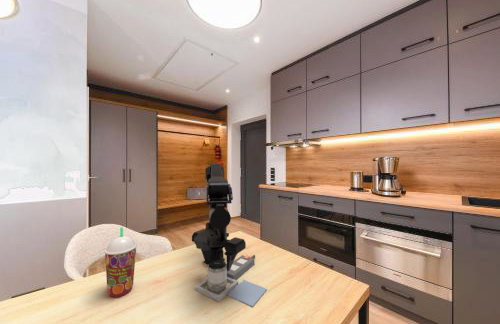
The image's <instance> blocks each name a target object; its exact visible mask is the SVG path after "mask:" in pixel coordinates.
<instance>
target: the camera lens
mask: <svg viewBox="0 0 500 324" xmlns="http://www.w3.org/2000/svg"><path fill="white" fill-rule="evenodd" d="M207 278H208V281H207V288H208V289H207V290H208V291H210V292H212V293H215V294H216V293H217V294H218V293H222V292H223V291H224V290H225V289H226V287H227V283H228V282H227V262H226V261H221V260H216V261H212V262H211V263H209V264H207Z"/></svg>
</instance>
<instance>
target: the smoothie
mask: <svg viewBox="0 0 500 324" xmlns="http://www.w3.org/2000/svg"><path fill="white" fill-rule="evenodd" d="M119 233H120V234H119V235H118V236H117V237H114V238H113V239H112V240H111V241H110V242H109V243H108V245H107V247H106V249H105V250H104V253H105V254H104V257H105V258H104V259H105V273H106V289H107V290H106V292H107V293H108V295H109V296H110V297H112V298H119V297H122V296H124V295H126V294H128V293H129V292H130V291H131V290H132V287H133V285H134V279H135V266H136V265H135V264H136V255H137V253H136V252H137V246H138V245H137V243H136V242H135V240H134V239H133V238H132V237H131V236H128V235H124V227H122V226H121V227H120V232H119Z"/></svg>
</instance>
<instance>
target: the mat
mask: <svg viewBox="0 0 500 324" xmlns="http://www.w3.org/2000/svg"><path fill="white" fill-rule="evenodd" d="M267 291H268V288H267V287H263V286H261V285H258V284H255V283H253V282H250V281H248V280H245V279H243V280H241V282H240V283H238V285H237V286H236V287H235V288H234V289H233V290H231V291H230V292H229V293H228V294H227V297H229V298H232V299H233V300H236V301H238V302H240V303H242V304H244V305H246V306H249V307H251V308H254V307H255V305H256V304H257V303H258V302H259V301H260V299H261V298H262V297H263V296H264V295H265V293H266V292H267Z"/></svg>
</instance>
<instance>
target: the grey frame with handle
mask: <svg viewBox="0 0 500 324" xmlns="http://www.w3.org/2000/svg"><path fill="white" fill-rule="evenodd" d="M255 258H256V255H255V254H253V255H248V254H246V255H243V254H241V255H240V256H239V257H237V258H235V259H234V262H233V264H232V266H231V269H230V270H229V271H227V283H230V285H228V287H227V288H225V289H224V290H223V291H221V292H220V293H219V294H218V293H217V294H216V293H214V292H211V291H210V290H209V289H206V288H204V287H205V286H206V285H208V283H207V281H208V277H207V278H205V279H204V280H202V281H201V282H199V283H198V284H197V285H195V286H194V291H196V292H198V293H200V294H202V295H204V296H205V297H208V298H210V299H212V300H214V301H216V302H217V303H219V302H221V300H223V299H224V298H225V297H226V296H228V294H229V293H230V292H231V291H232V290H233V289H234V288H235V287H236V286H237V285H239V280H238V279H239V278H240V277H242V276H243V275H244V274H245V273H247V272H248V271H249V270H250V269H251V268H252V267H253V266H255Z"/></svg>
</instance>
